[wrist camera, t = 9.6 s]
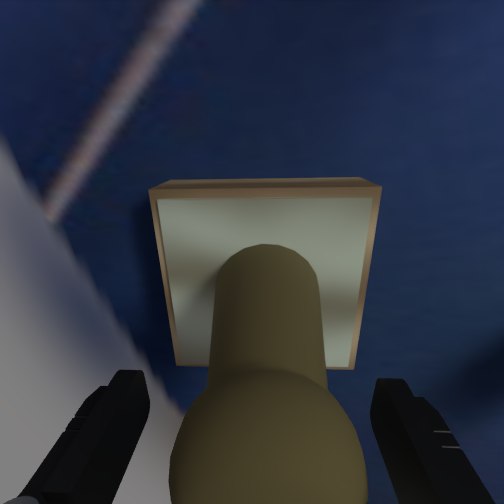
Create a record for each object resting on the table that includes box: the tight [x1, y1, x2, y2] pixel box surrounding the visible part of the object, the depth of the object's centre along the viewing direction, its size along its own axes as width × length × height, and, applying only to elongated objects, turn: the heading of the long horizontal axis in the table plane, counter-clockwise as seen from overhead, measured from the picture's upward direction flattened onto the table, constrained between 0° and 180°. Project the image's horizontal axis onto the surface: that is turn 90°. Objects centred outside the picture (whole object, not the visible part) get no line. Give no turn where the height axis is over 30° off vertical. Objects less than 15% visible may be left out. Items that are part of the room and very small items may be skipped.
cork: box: [169, 244, 369, 504], centre depth 11 cm, size 6×6×11 cm
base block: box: [148, 177, 382, 370], centre depth 18 cm, size 12×12×4 cm
